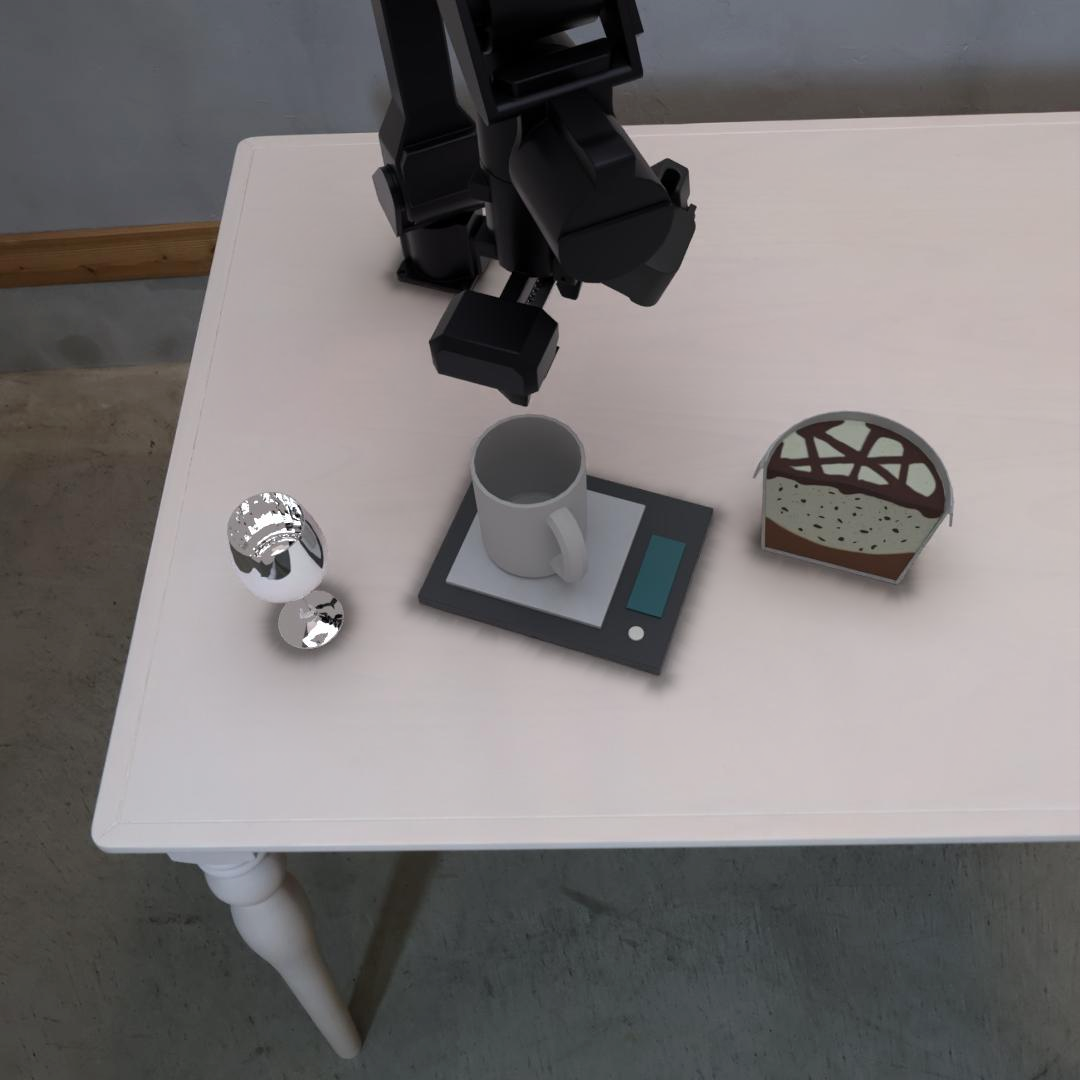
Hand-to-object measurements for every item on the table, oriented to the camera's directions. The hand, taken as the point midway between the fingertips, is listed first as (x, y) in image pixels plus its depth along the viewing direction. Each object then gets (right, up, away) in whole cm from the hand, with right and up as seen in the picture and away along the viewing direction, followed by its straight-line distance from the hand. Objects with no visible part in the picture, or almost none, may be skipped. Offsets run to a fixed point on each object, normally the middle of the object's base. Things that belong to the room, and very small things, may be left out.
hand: (545, 348), depth 71 cm
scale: (+2, -13, +7) cm, 15 cm away
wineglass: (-16, -18, +5) cm, 24 cm away
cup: (0, -13, +5) cm, 14 cm away
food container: (+20, -12, +7) cm, 24 cm away
